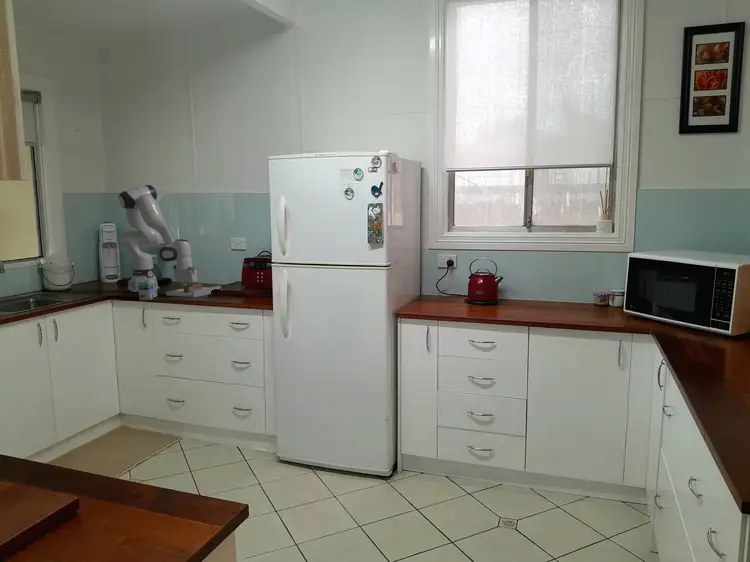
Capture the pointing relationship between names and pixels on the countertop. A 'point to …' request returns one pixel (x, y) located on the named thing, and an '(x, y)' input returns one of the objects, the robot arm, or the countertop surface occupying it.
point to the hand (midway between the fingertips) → (186, 289)
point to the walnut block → (192, 287)
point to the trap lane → (192, 292)
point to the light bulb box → (147, 289)
